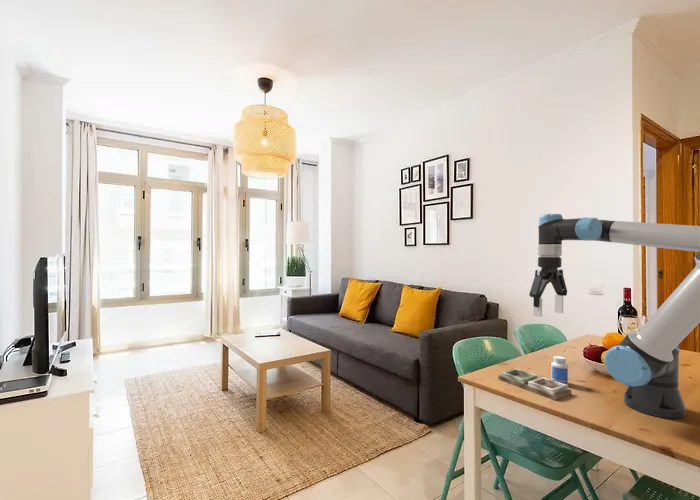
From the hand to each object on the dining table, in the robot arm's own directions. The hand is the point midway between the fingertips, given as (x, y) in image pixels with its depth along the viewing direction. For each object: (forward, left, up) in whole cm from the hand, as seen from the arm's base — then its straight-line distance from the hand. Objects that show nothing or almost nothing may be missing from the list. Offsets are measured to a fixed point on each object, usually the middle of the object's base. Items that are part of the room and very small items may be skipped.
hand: (548, 314), depth 130 cm
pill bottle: (0, -8, -27) cm, 28 cm away
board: (+3, +4, -27) cm, 27 cm away
